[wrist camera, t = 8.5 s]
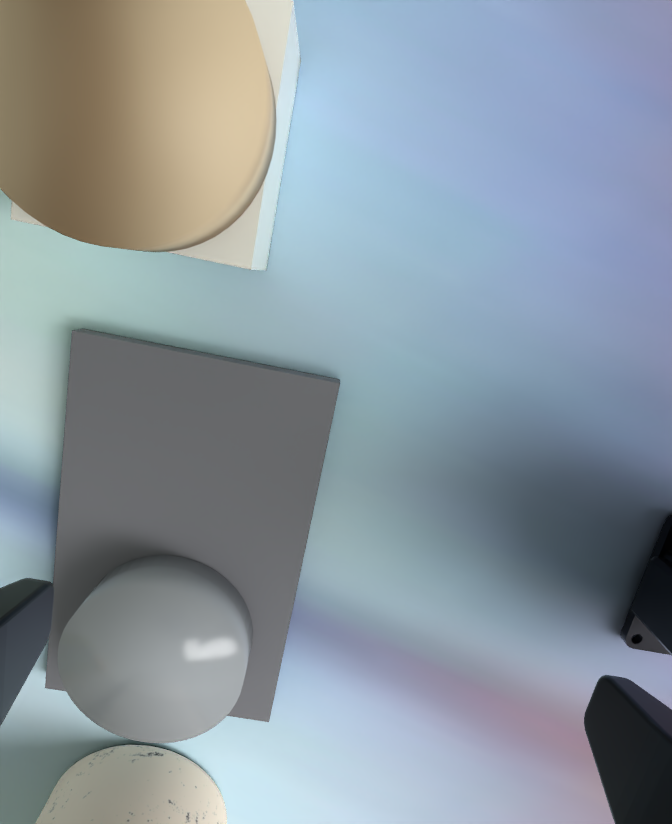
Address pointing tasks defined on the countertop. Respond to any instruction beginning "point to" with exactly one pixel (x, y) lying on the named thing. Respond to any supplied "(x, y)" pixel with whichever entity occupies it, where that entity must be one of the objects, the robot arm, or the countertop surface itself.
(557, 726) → the countertop surface
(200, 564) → the grey puck
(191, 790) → the teacup with lid
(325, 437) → the mat
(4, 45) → the cork lid
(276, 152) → the open white box
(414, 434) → the countertop surface
